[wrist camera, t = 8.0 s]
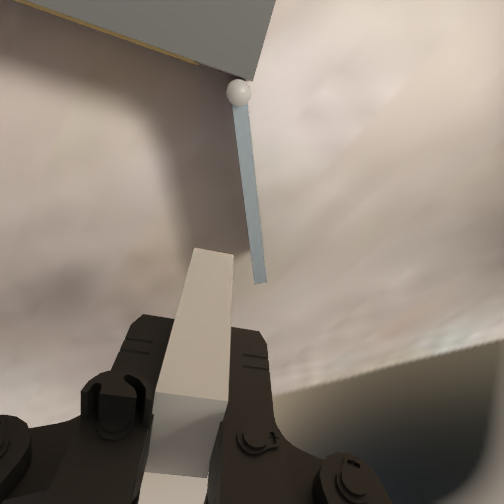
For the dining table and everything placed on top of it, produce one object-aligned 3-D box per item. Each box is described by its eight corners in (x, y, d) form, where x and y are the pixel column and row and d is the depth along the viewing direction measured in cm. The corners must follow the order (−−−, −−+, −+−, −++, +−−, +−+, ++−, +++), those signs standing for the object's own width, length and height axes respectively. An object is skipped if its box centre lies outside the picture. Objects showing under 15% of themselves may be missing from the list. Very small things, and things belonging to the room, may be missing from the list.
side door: (225, 80, 22) (224, 81, 17) (244, 78, 22) (249, 77, 17) (247, 247, 27) (252, 288, 22) (262, 245, 27) (270, 286, 22)
